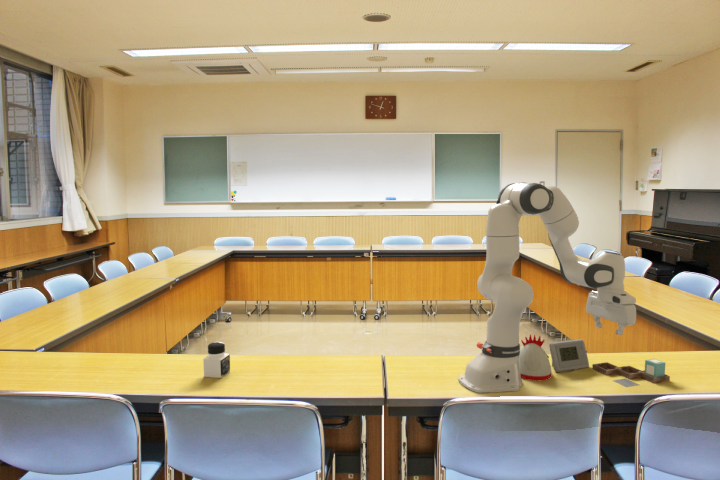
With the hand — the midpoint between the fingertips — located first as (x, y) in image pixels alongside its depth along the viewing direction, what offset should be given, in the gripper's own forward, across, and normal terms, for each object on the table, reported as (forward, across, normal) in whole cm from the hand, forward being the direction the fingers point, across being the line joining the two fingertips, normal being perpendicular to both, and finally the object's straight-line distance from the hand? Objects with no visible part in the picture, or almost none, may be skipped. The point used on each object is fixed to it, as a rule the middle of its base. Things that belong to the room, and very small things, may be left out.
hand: (608, 331), depth 175 cm
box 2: (+16, +6, +5) cm, 17 cm away
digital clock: (+16, -7, -11) cm, 21 cm away
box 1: (+16, 0, 0) cm, 16 cm away
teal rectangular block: (+15, +11, +10) cm, 22 cm away
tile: (+16, +11, -3) cm, 19 cm away
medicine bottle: (+16, -42, -141) cm, 148 cm away
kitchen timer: (+16, -7, -28) cm, 33 cm away
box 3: (+16, +11, +10) cm, 22 cm away
